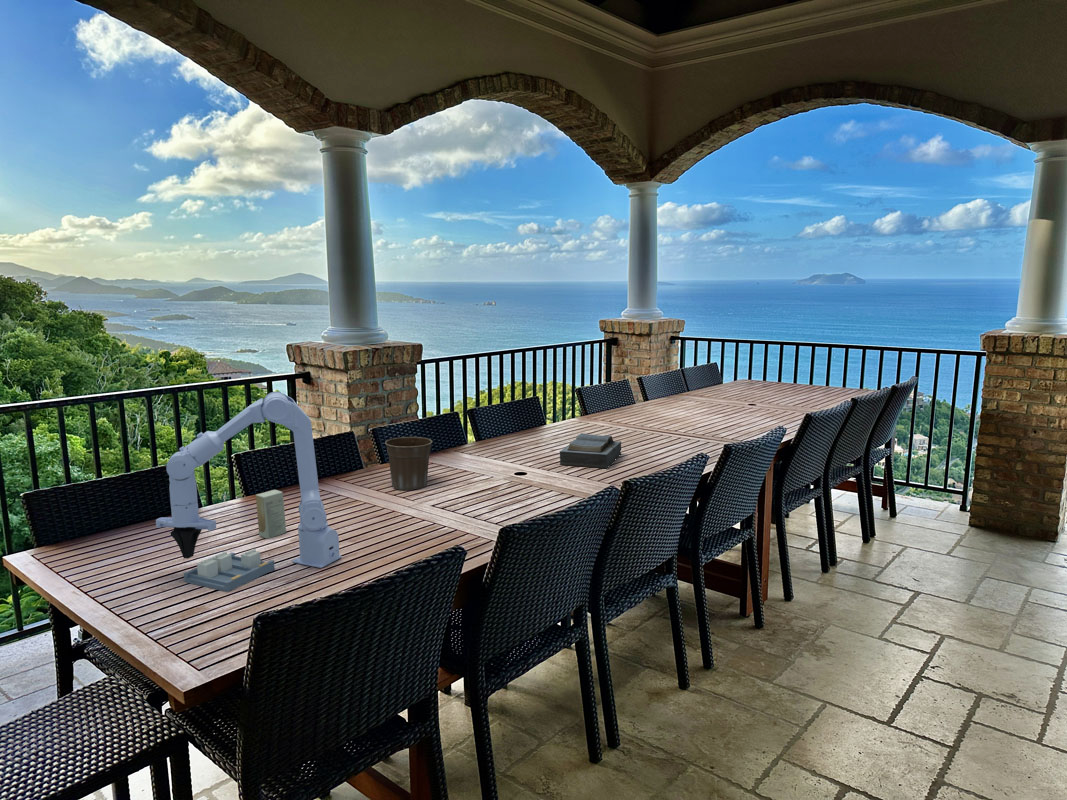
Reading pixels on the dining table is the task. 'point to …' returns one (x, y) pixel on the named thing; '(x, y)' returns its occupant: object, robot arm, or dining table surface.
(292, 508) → the dining table surface
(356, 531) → the dining table surface
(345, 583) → the dining table surface
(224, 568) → the tab
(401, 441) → the plant pot
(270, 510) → the skincare box
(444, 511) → the dining table surface
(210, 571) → the tab
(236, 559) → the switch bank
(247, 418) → the robot arm
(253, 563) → the tab
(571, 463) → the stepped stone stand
